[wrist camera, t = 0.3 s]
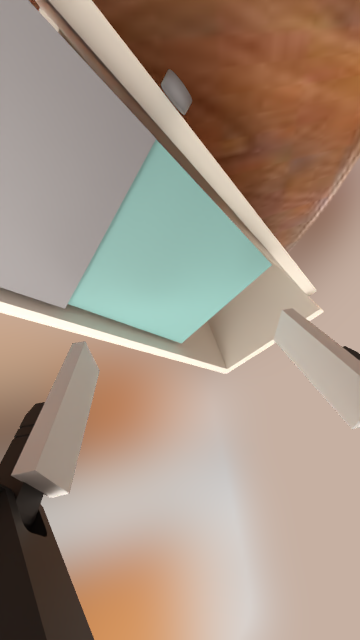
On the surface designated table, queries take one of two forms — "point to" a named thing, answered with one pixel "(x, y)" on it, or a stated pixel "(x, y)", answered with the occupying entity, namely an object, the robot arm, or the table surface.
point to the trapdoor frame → (183, 144)
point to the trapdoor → (102, 197)
